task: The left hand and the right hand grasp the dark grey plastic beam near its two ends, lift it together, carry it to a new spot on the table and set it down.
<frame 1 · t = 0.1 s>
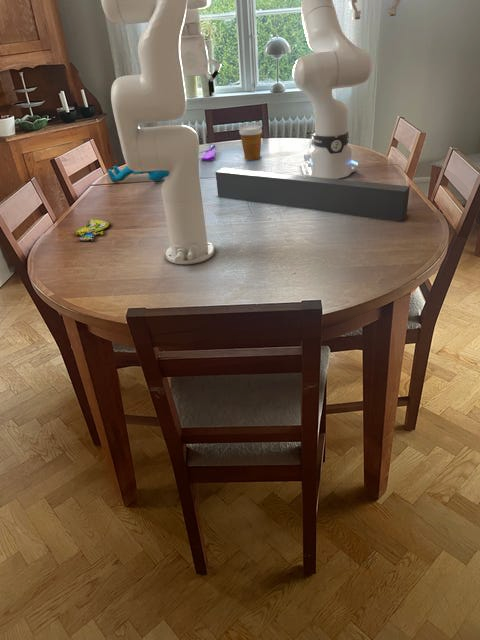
left hand: (195, 96, 145), 31 cm above the table, tool pointing down, fingers open, 9 cm apart
right hand: (374, 17, 121), 48 cm above the table, tool pointing down, fingers open, 8 cm apart
beer cup: (252, 158, 200), on the table
toy 2: (93, 231, 144), on the table
beam: (303, 205, 148), on the table
musical instrument: (200, 156, 209), on the table
toy: (148, 180, 184), on the table
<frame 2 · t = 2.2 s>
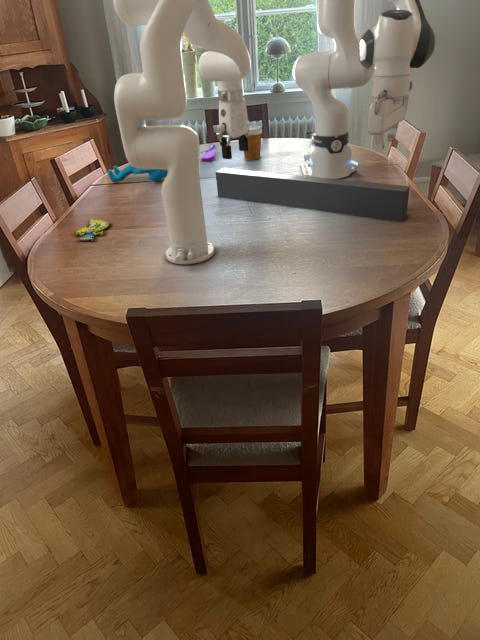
left hand: (235, 154, 152), 14 cm above the table, tool pointing down, fingers open, 9 cm apart
right hand: (385, 145, 126), 19 cm above the table, tool pointing down, fingers open, 8 cm apart
nothing on the table moved.
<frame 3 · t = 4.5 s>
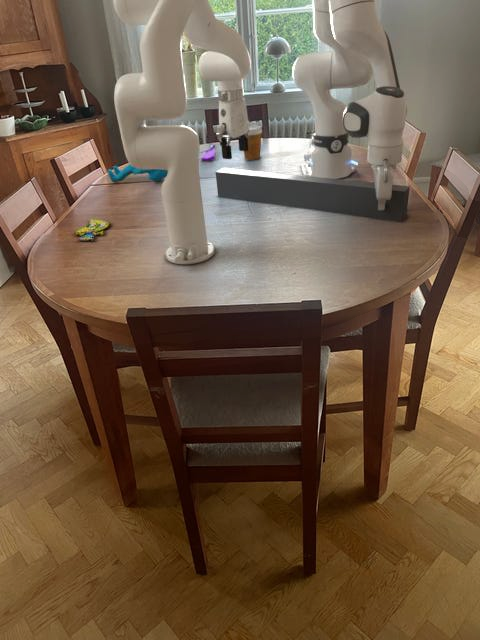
left hand: (235, 154, 152), 14 cm above the table, tool pointing down, fingers open, 9 cm apart
right hand: (380, 204, 135), 3 cm above the table, tool pointing down, fingers closed on beam, 5 cm apart
beam: (303, 205, 148), on the table, touching right hand
everything else where it was.
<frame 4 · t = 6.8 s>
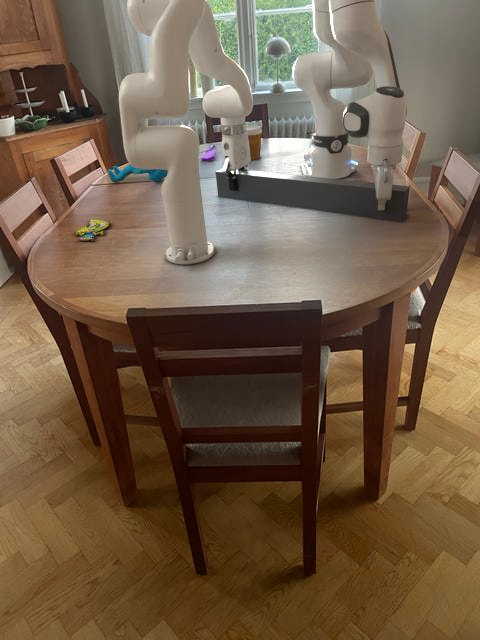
left hand: (238, 187, 158), 3 cm above the table, tool pointing down, fingers closed on beam, 4 cm apart
right hand: (380, 204, 135), 3 cm above the table, tool pointing down, fingers closed on beam, 5 cm apart
beam: (303, 205, 148), on the table, touching left hand, right hand
everything else where it was.
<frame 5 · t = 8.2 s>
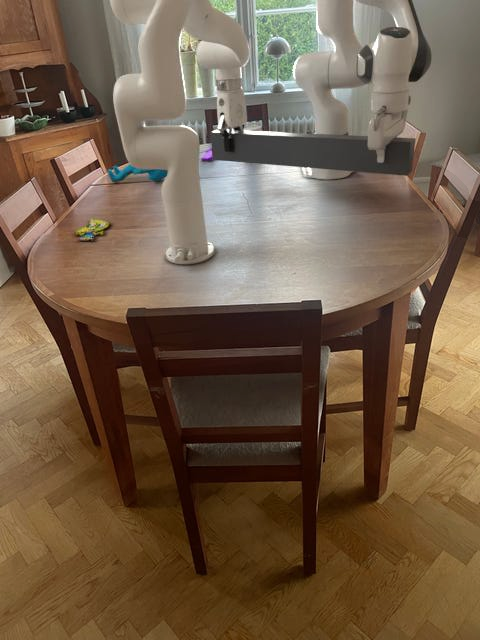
left hand: (234, 148, 151), 16 cm above the table, tool pointing down, fingers closed on beam, 4 cm apart
right hand: (384, 158, 128), 16 cm above the table, tool pointing down, fingers closed on beam, 5 cm apart
beam: (303, 165, 141), point 12 cm above the table, touching left hand, right hand
everything else where it was.
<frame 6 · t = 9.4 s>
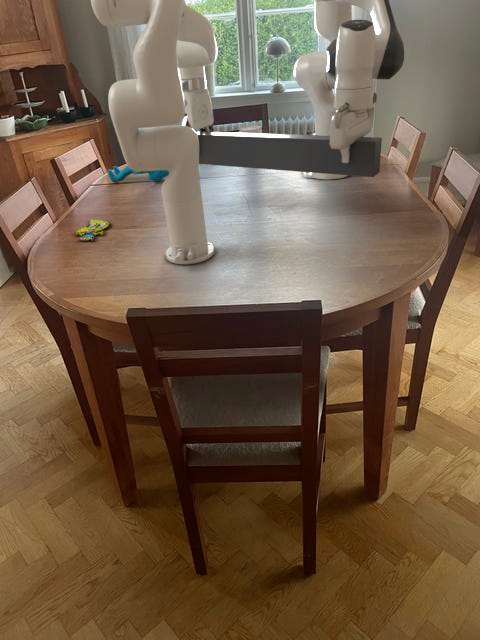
left hand: (200, 150, 145), 17 cm above the table, tool pointing down, fingers closed on beam, 4 cm apart
right hand: (350, 159, 122), 18 cm above the table, tool pointing down, fingers closed on beam, 4 cm apart
beam: (269, 166, 135), point 14 cm above the table, touching left hand, right hand
everything else where it was.
when the left hand's fingers open (4 cm above the table, at t = 12.3 s): beam stays where it is, on the table.
when the right hand's fingers open (4 cm above the table, at t = 12.4 s): beam stays where it is, on the table.
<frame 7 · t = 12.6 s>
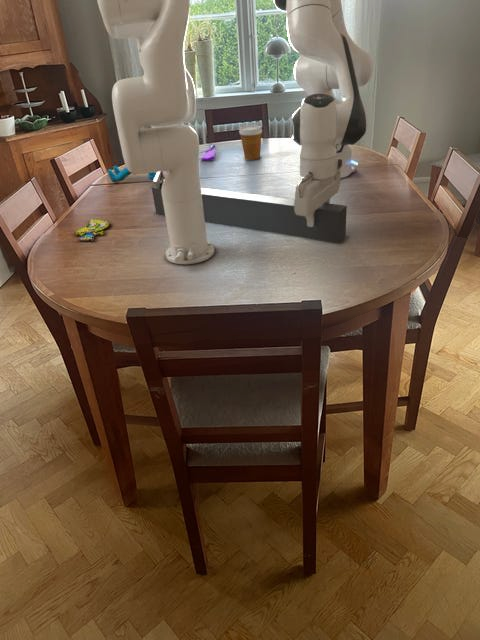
left hand: (175, 198, 148), 5 cm above the table, tool pointing down, fingers open, 6 cm apart
right hand: (317, 220, 126), 4 cm above the table, tool pointing down, fingers open, 6 cm apart
beam: (241, 224, 139), on the table
everything else where it was.
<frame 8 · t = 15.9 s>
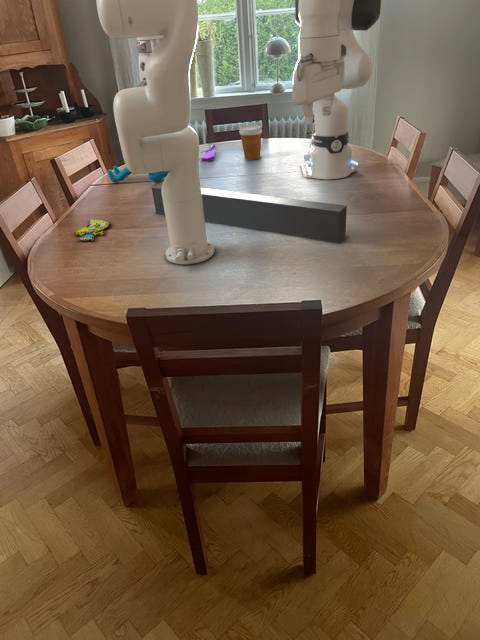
left hand: (163, 116, 135), 29 cm above the table, tool pointing down, fingers open, 9 cm apart
right hand: (318, 119, 112), 29 cm above the table, tool pointing down, fingers open, 8 cm apart
nothing on the table moved.
at the end: beam inside the target area (0.0 cm from its centre), on the table; beam tilted 0°; beam never tilted more than 2° during the clip; both hands held the beam at the same time; the left hand is holding nothing; the right hand is holding nothing; beam at rest at the end (0.0 cm/s) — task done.
